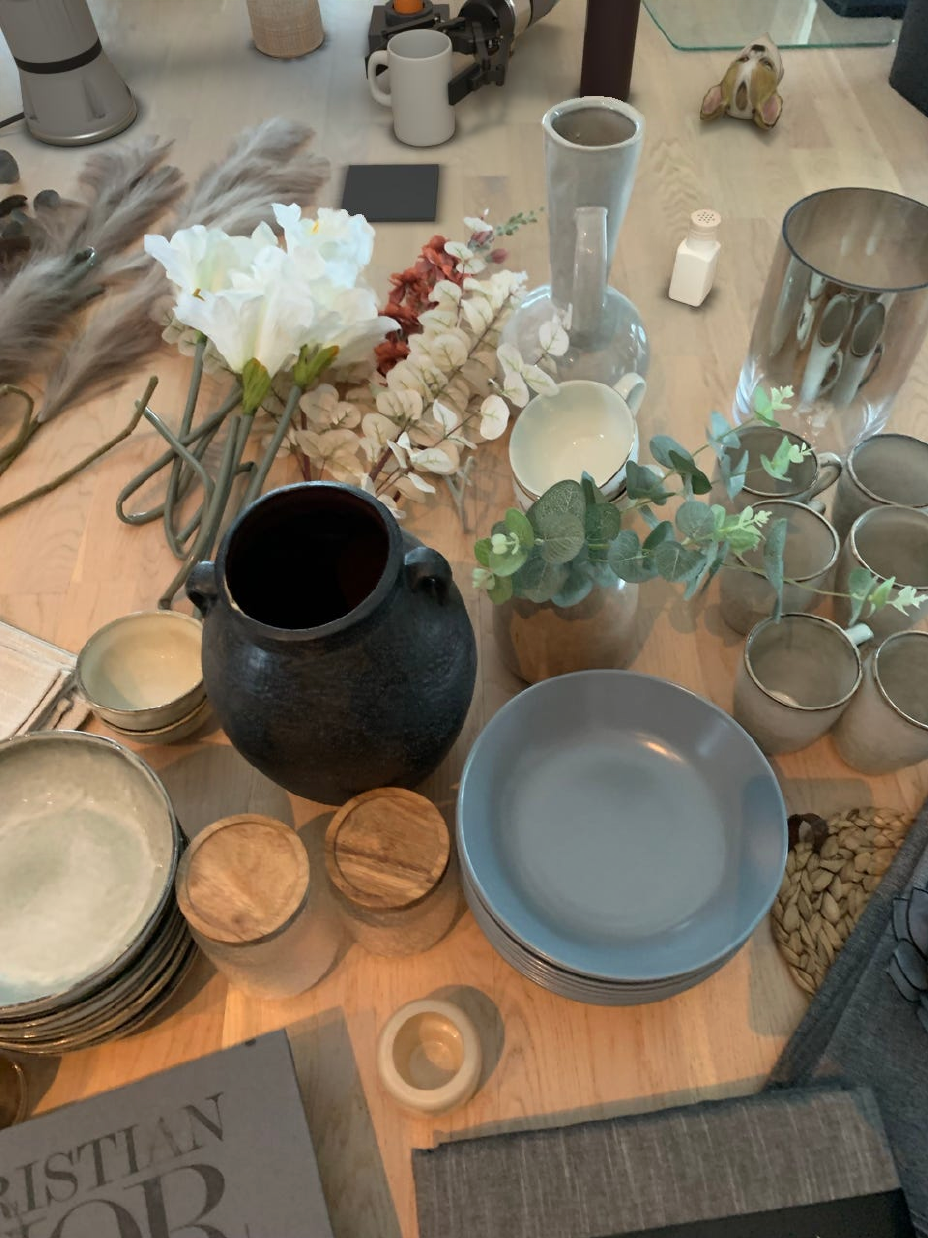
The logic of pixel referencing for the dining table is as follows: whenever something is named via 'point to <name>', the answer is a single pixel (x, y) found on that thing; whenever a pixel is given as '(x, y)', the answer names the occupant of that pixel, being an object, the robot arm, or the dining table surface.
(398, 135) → the mug
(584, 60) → the wine bottle
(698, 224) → the salt shaker
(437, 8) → the base
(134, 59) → the dining table surface
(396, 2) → the kettle button
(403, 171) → the coaster
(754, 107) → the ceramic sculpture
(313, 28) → the planter
